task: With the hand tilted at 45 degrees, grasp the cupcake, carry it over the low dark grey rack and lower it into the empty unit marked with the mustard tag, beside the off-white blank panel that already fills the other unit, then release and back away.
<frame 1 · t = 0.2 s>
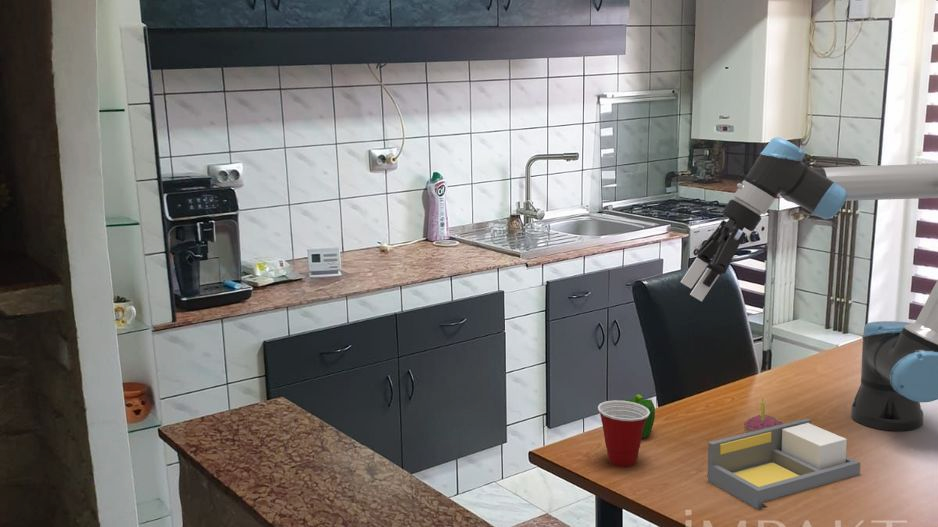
hand: (690, 291, 190), 34 cm above the table, tool tilted 35°, fingers open, 13 cm apart
bell pepper: (636, 435, 202), on the table
blank panel: (812, 466, 179), resting on rack
plastic cup: (623, 462, 188), on the table
cupcake: (763, 449, 192), on the table
rack: (783, 480, 176), on the table
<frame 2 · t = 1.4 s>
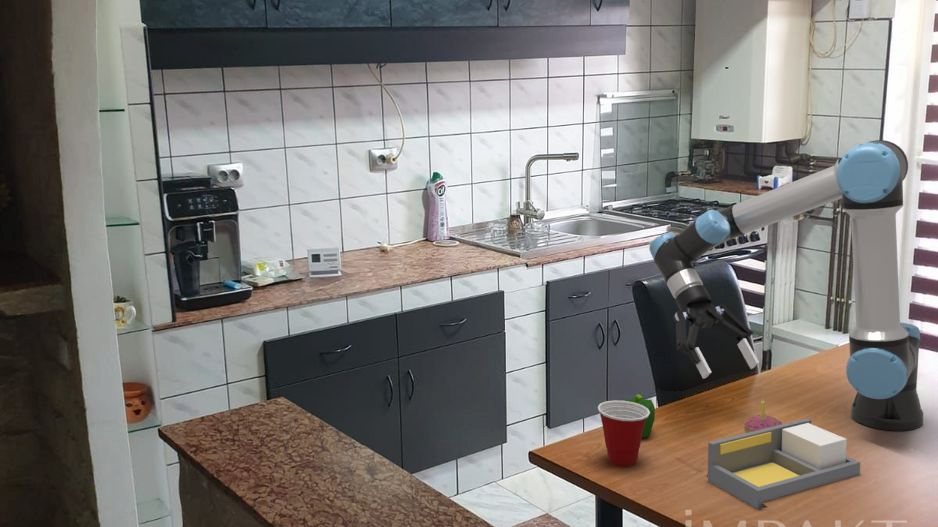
hand: (731, 370, 198), 15 cm above the table, tool tilted 45°, fingers open, 13 cm apart
nothing on the table moved.
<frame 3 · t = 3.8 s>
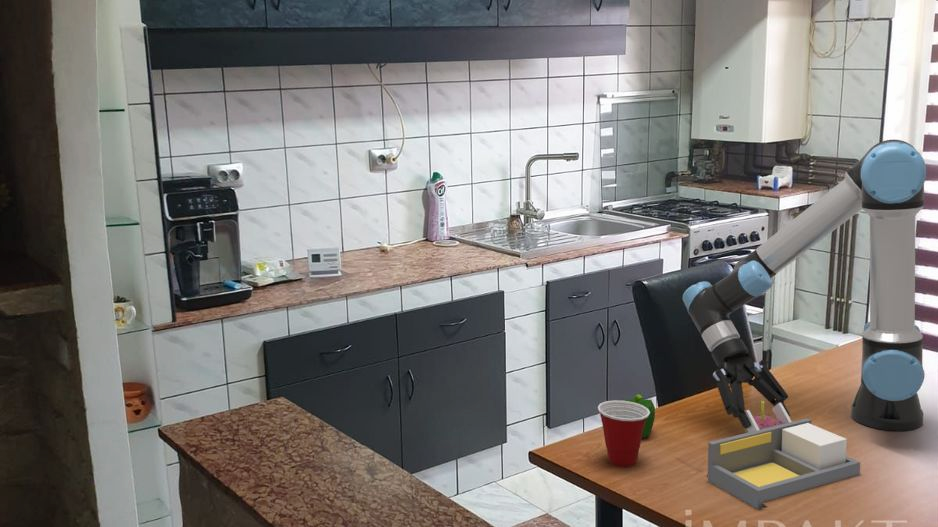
hand: (775, 436, 188), 4 cm above the table, tool tilted 45°, fingers closed on cupcake, 8 cm apart
cupcake: (763, 449, 192), on the table, touching gripper
everything else where it was.
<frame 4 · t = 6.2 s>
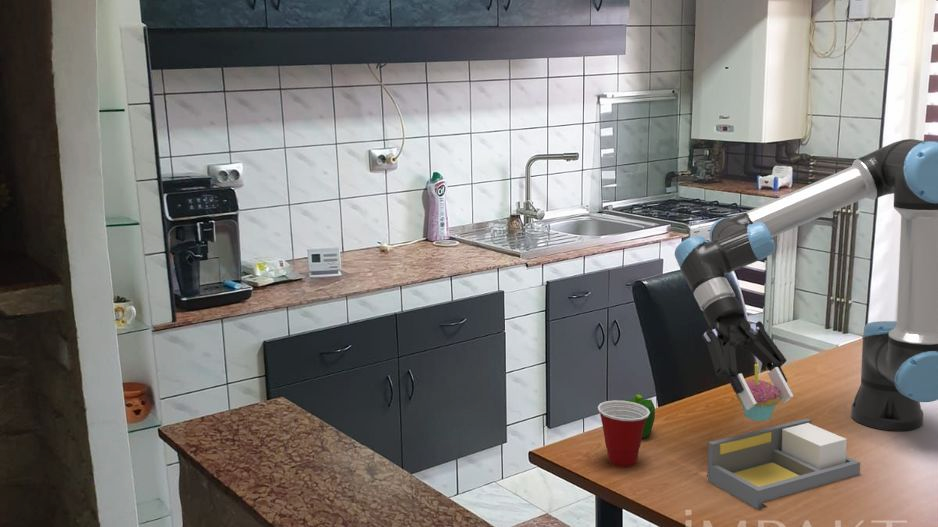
hand: (770, 403, 171), 17 cm above the table, tool tilted 45°, fingers closed on cupcake, 8 cm apart
cupcake: (757, 417, 175), point 13 cm above the table, touching gripper
everything else where it was.
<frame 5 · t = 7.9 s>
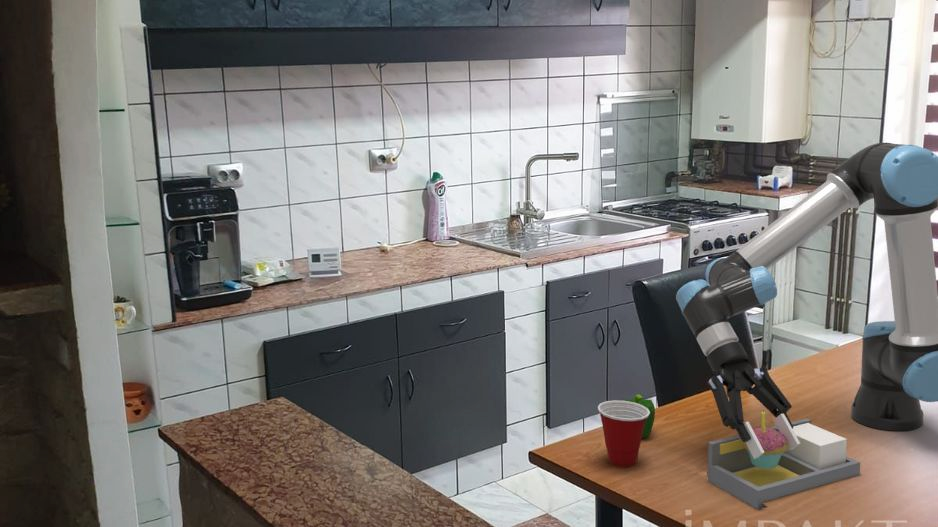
hand: (777, 451, 170), 8 cm above the table, tool tilted 45°, fingers closed on cupcake, 8 cm apart
cupcake: (763, 464, 174), point 4 cm above the table, touching gripper
everything else where it was.
when the fingers open (6 cm above the table, at t = 8.8 s): cupcake stays where it is, resting on rack.
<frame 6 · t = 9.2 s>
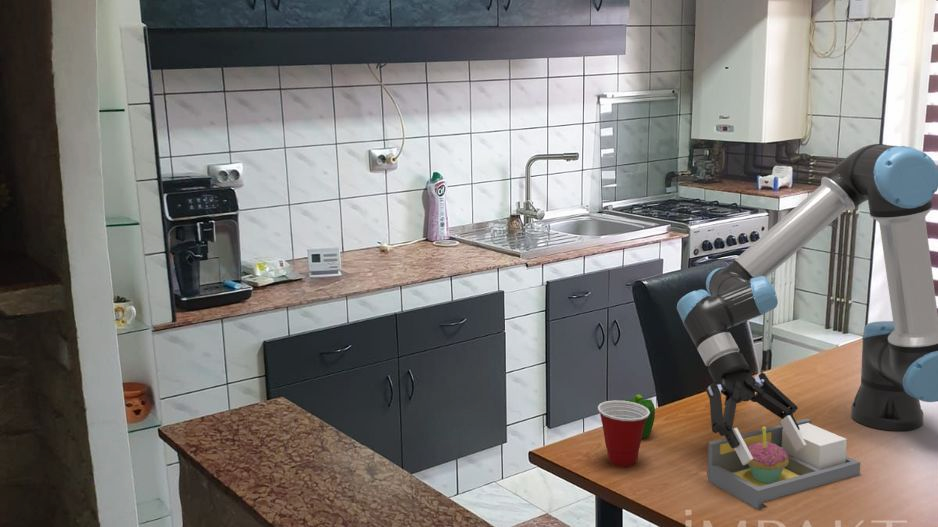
hand: (775, 455, 171), 7 cm above the table, tool tilted 45°, fingers open, 13 cm apart
cupcake: (765, 479, 174), point 1 cm above the table, touching rack
everything else where it was.
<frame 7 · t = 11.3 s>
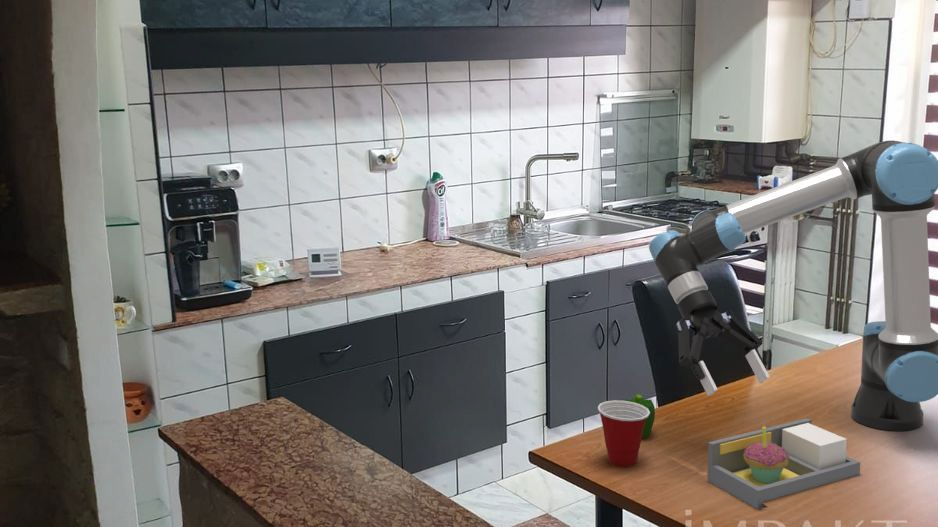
hand: (739, 386, 179), 18 cm above the table, tool tilted 40°, fingers open, 13 cm apart
nothing on the table moved.
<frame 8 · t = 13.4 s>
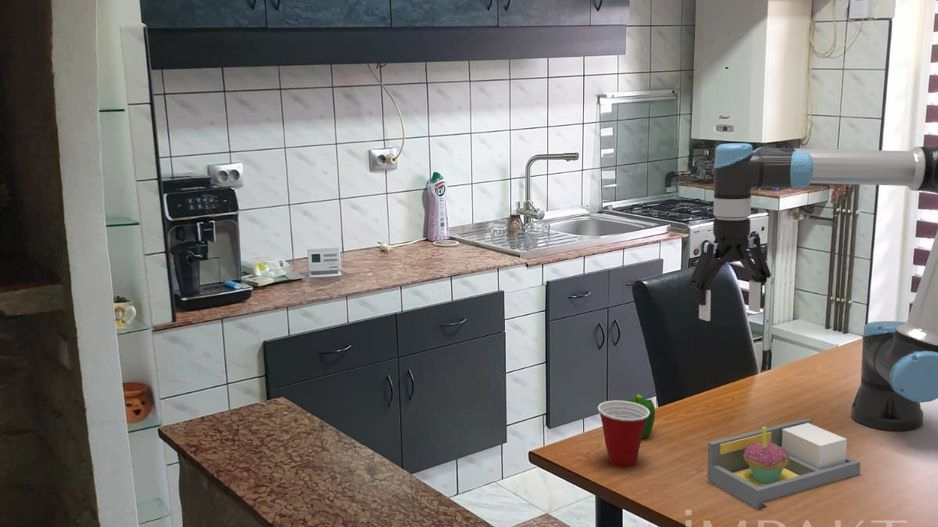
hand: (729, 315, 191), 29 cm above the table, tool pointing down, fingers open, 13 cm apart
nothing on the table moved.
at the end: cupcake inside the target area on the rack (0.3 cm from its centre), point 1.2 cm above the rack's base; cupcake tilted 0°; the gripper is holding nothing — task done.
